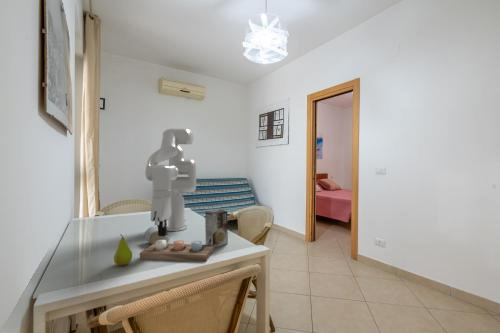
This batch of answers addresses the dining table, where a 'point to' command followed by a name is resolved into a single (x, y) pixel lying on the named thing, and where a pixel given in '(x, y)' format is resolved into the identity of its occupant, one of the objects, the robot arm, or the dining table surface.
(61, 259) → the dining table surface
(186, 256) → the walnut board
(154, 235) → the ceramic mug
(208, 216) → the coffee box
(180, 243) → the salmon domed cylinder
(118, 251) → the fruit
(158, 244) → the white egg
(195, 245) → the blue egg
